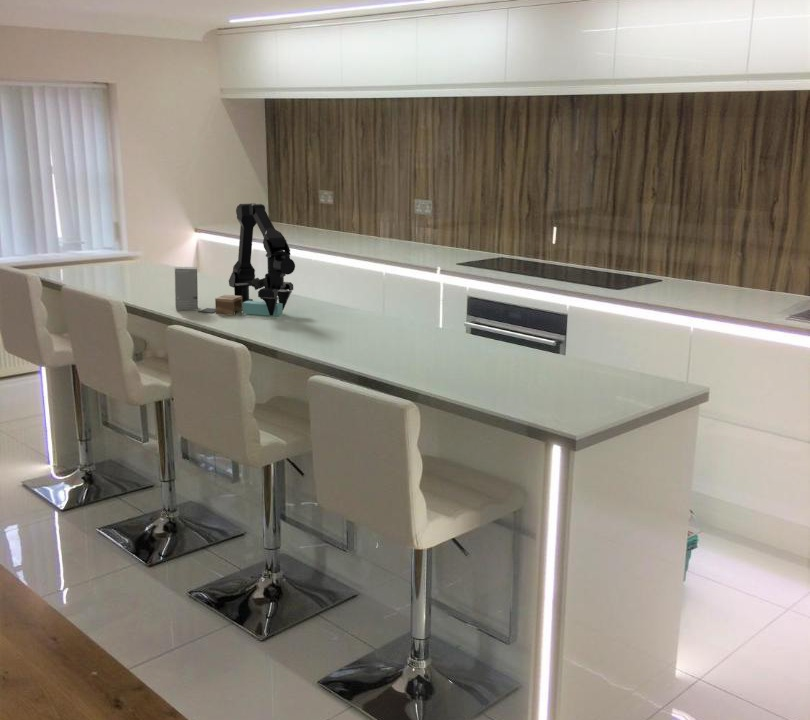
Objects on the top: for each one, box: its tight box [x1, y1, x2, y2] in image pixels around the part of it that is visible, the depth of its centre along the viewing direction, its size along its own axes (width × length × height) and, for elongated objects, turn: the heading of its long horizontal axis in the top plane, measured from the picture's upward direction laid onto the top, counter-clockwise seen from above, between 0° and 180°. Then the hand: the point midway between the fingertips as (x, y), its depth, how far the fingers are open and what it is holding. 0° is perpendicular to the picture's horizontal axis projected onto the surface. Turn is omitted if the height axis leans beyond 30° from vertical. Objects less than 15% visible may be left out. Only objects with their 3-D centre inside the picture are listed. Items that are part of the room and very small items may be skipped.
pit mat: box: [197, 307, 216, 314], centre depth 335 cm, size 7×6×1 cm
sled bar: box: [242, 300, 284, 316], centre depth 329 cm, size 4×14×4 cm, turn 74°
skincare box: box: [174, 266, 199, 311], centre depth 337 cm, size 8×7×16 cm
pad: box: [242, 313, 285, 319], centre depth 329 cm, size 8×13×1 cm, turn 74°
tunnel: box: [214, 294, 243, 316], centre depth 332 cm, size 8×7×6 cm
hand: (276, 312), depth 328 cm, fingers open, 9 cm apart
